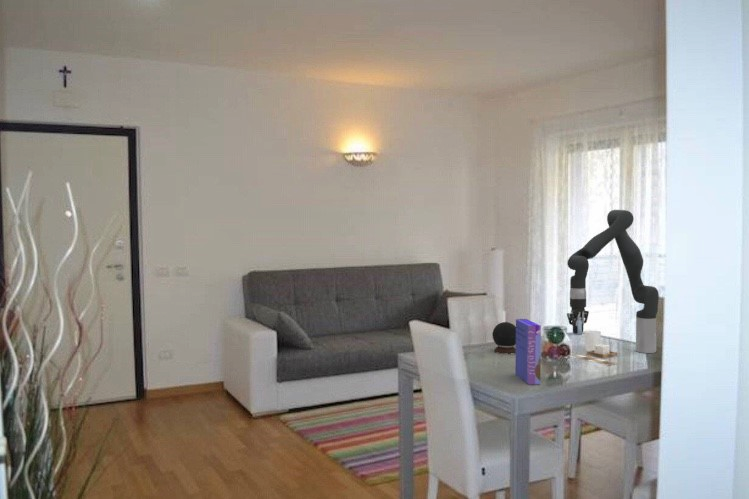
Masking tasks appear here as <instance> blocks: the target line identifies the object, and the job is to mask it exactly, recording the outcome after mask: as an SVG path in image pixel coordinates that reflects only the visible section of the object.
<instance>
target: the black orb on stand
mask: <svg viewBox="0 0 749 499" xmlns="http://www.w3.org/2000/svg"><path fill="white" fill-rule="evenodd" d="M492 340H493V342H494V343H495V345H496V347H495V348H494V349H493V350H494V351H496V352H499V353H498V354H500V353H508V354H507V355H512V354H511V353H514V354H516V347H515V346H516V325H515V324H514V323H511V322H509V321H504V322H499V323H498V324H497V325H495V327H494V328H493V330H492ZM494 351H493V352H494ZM496 352H495V353H496Z"/></svg>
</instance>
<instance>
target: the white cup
mask: <svg viewBox="0 0 749 499" xmlns="http://www.w3.org/2000/svg"><path fill="white" fill-rule="evenodd" d="M583 333H584V335H583V336H584V350H585V351H586V352H587V351H593V350H594V345H598V344H601V334H602V333H601V331H599V330H596V329H595V330H593V329H592V330H591V329H588V330H583Z"/></svg>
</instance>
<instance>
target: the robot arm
mask: <svg viewBox="0 0 749 499" xmlns="http://www.w3.org/2000/svg"><path fill="white" fill-rule="evenodd" d="M606 221H607V222H606V223H607V224H608V227H607V228H606V229H605V230H603V231H601V232H599V233H597V234H596V235H594V236H593V237H592V238H591V239H589V240H588V242H587V243H586V244H584V246H583V247H582V248H580V249H579V250H577V251H576V252H574V253H573V254H572V255H571V256H569V258H568V259H567V264H566V265H567V267H568V268H569V269H570V270H572V271H574V275H572V276H571V277H570V279H569V280H570V282H569V283H570V284H569V288H570V289H569V307H570V308H571V310H570V312H569V313H567V314H566V317H567V321H568V323H569V325H571V326H572V333H573V334H574V333H575V334H577V333H578V326H577V325H578V321H579V317H581V320H582V333H584V325H585V324H587V322H588V319H589V314H590V311H589V310H586V307H587V287H586V286H587V285H586V284H587V281H586V280H587V276H588V272H589V269H590V268H589V265H590V264H589V260H591V259H594V258H595V257H596V256H597V255H598V254H599V253H600V252H601V251H602V250H603V249H604V248H605V247H606V246H608V244H609V243H610V242H612V241H613V240H615V242H616V246H617V248H618V251H619V253H620V257H621V260H622V263H623V265H624V268H625V271H626V275H627V278H628V281H629V285H630V286H629V287H630V291H631V294H632V298H633V299H634V301H635V302H636V303H638V304H643V308H642V309H640V310H637V311H636V313H635V351H636V352H637V353H641V354H654V353H656V352H657V314H658V310H659V290H658V289H657V287H655V286H651V285H644V283H643V280H642V276H641V275H642V274H641V273H642V270H643V267H644V259H643V256H642V253H641V249H640V247H639V246H638V245H637V243H636V242H635V241H634V239H632V237H631V236H630V235H629V233H628V231H627V230H628V229H629V228H630V227H631V226H632V225H633V222H634V214H633V213H632V212H631V211H630V210H626V209H612V210H610V211H609V212H608V213H607V217H606ZM574 318H576V319H574ZM575 321H576V322H575Z"/></svg>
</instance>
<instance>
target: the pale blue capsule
mask: <svg viewBox="0 0 749 499" xmlns="http://www.w3.org/2000/svg"><path fill="white" fill-rule="evenodd" d="M574 319H576V318H574ZM575 322H576V321H575ZM577 326H578V333H577V334H575V333H573V335H574V336H583V332H582V320H581V317H579V321H578V325H577Z"/></svg>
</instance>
